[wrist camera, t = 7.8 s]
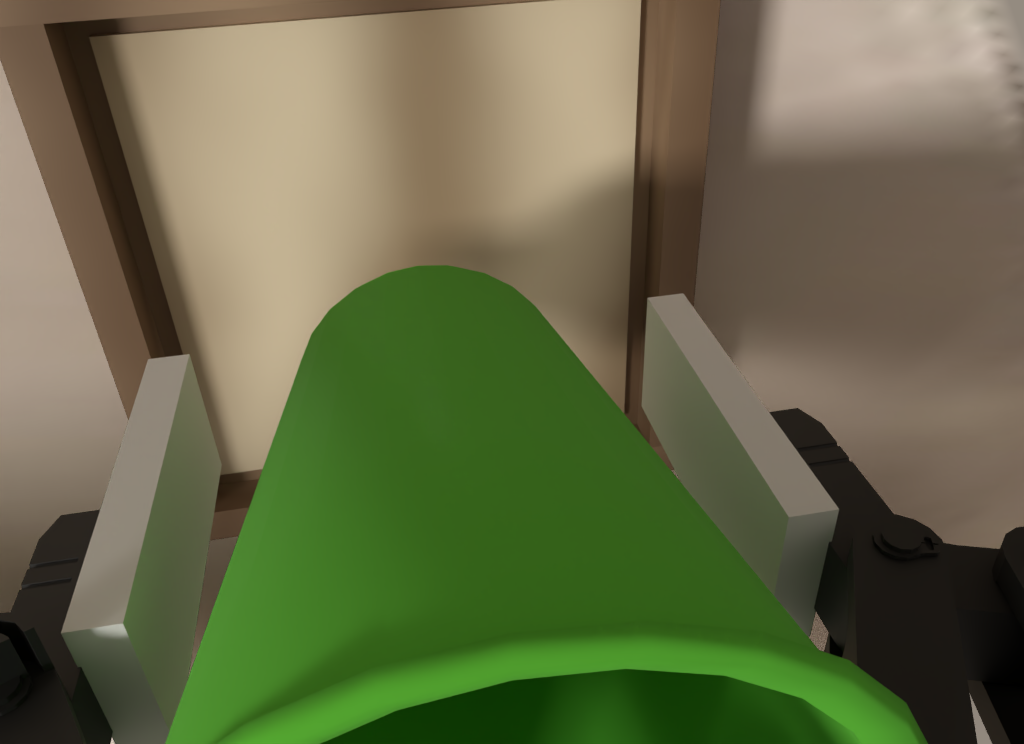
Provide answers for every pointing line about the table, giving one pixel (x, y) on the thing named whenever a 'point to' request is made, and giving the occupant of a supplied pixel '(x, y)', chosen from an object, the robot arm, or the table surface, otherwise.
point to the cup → (492, 559)
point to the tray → (361, 174)
